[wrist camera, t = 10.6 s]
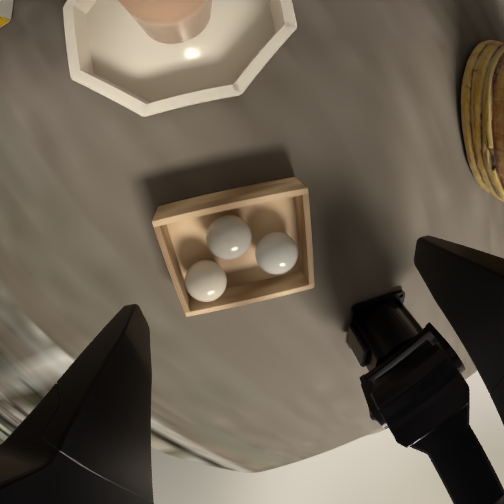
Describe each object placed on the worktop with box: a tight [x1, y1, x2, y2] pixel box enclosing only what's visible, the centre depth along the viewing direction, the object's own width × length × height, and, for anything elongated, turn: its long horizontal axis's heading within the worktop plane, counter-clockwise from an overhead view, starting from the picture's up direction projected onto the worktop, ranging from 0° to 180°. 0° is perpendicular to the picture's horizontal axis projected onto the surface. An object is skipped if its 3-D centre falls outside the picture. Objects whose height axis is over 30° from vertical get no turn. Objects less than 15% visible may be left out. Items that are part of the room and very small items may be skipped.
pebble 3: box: [255, 232, 298, 275], centre depth 20 cm, size 3×3×3 cm
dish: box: [63, 0, 297, 117], centre depth 12 cm, size 13×13×3 cm
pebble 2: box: [206, 215, 252, 260], centre depth 19 cm, size 3×3×3 cm
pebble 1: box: [185, 260, 227, 302], centre depth 21 cm, size 3×3×3 cm
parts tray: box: [152, 177, 314, 317], centre depth 21 cm, size 10×8×3 cm
